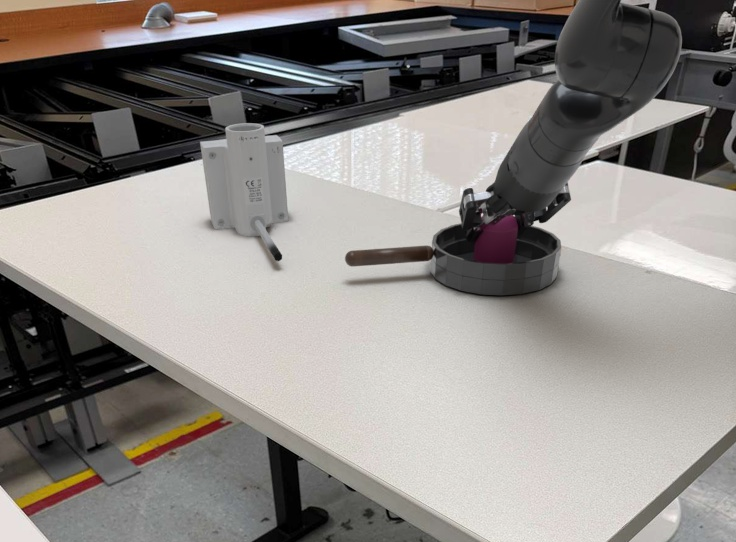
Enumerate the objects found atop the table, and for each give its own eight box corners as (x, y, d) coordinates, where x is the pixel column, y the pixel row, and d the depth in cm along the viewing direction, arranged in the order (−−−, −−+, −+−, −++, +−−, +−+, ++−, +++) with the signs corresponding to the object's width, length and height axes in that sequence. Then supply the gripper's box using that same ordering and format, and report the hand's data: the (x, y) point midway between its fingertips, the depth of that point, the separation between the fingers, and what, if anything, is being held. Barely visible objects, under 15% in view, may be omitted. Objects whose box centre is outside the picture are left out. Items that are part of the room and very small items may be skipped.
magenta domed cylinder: (505, 261, 101) (512, 202, 95) (517, 276, 96) (526, 214, 91) (468, 264, 100) (473, 204, 95) (478, 278, 96) (485, 217, 91)
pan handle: (431, 257, 97) (432, 242, 96) (435, 262, 95) (435, 247, 94) (344, 263, 96) (343, 248, 94) (346, 269, 94) (345, 254, 93)
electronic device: (282, 213, 121) (274, 113, 111) (321, 267, 102) (315, 152, 92) (210, 221, 118) (196, 120, 109) (236, 278, 99) (222, 161, 90)
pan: (531, 248, 106) (535, 217, 103) (574, 293, 93) (581, 259, 90) (419, 256, 104) (420, 224, 101) (447, 303, 91) (449, 268, 88)
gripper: (593, 125, 82) (534, 204, 98) (475, 134, 79) (435, 213, 96) (606, 187, 81) (545, 256, 98) (487, 197, 79) (445, 266, 95)
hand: (490, 234), depth 97 cm, fingers closed on magenta domed cylinder, 5 cm apart
